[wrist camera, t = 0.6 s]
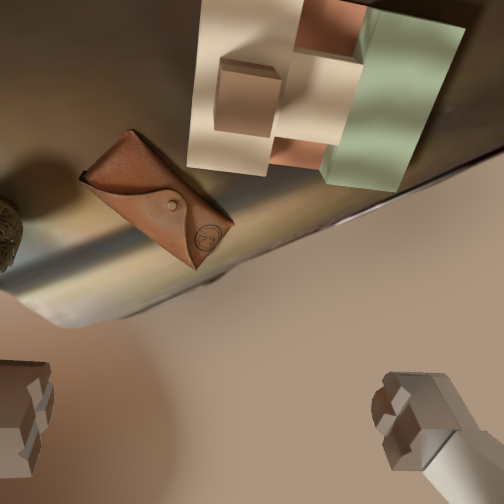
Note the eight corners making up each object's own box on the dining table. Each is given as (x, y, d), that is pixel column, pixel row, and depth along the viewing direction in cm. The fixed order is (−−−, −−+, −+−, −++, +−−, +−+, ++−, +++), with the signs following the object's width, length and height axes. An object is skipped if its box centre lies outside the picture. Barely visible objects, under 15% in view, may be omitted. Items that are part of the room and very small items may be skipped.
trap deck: (204, -29, 37) (205, -27, 34) (444, 22, 41) (465, 28, 38) (187, 151, 46) (186, 166, 43) (383, 177, 51) (396, 192, 48)
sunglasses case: (241, 224, 53) (224, 267, 49) (207, 236, 58) (189, 276, 54) (127, 123, 44) (96, 166, 40) (98, 147, 49) (69, 188, 45)
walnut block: (219, 57, 37) (222, 70, 33) (273, 66, 38) (282, 80, 34) (212, 112, 40) (214, 130, 36) (263, 119, 41) (269, 138, 37)
